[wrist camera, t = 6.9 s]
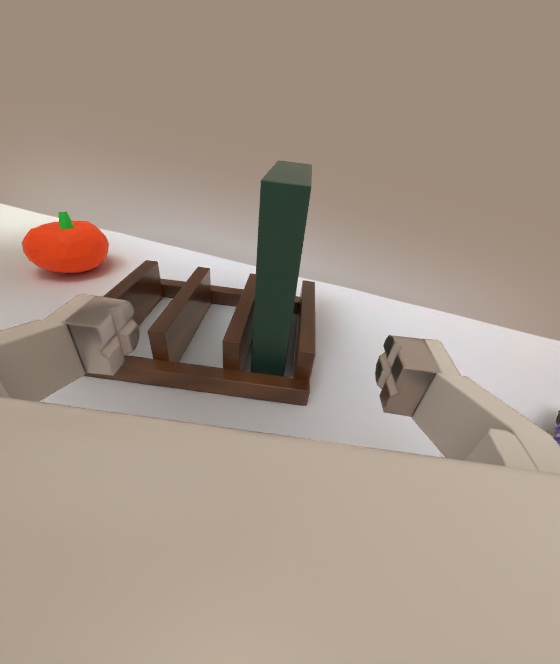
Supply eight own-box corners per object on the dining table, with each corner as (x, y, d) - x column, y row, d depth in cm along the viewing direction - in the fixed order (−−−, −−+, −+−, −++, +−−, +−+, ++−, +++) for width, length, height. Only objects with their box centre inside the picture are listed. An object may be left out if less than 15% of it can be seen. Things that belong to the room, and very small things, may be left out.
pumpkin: (29, 264, 34) (4, 205, 31) (105, 252, 39) (91, 200, 35) (39, 290, 30) (11, 226, 27) (122, 274, 35) (109, 217, 31)
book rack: (79, 375, 22) (60, 331, 19) (157, 290, 33) (151, 255, 30) (306, 406, 21) (315, 365, 19) (308, 309, 32) (314, 276, 30)
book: (250, 376, 23) (260, 179, 15) (265, 314, 31) (277, 160, 22) (283, 380, 23) (311, 185, 15) (290, 318, 31) (311, 164, 22)
